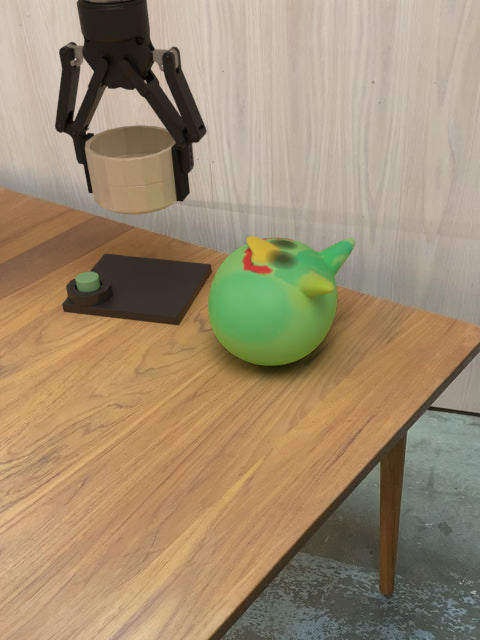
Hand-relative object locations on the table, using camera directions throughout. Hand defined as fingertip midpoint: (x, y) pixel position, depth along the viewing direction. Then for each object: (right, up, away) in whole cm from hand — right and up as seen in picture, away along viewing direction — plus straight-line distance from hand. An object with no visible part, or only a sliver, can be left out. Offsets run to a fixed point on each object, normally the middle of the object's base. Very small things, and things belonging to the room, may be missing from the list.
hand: (139, 193), depth 99 cm
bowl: (0, 0, 0) cm, 1 cm away
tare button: (-9, -10, +10) cm, 16 cm away
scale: (-2, -9, +14) cm, 17 cm away
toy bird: (+18, -20, +2) cm, 26 cm away
